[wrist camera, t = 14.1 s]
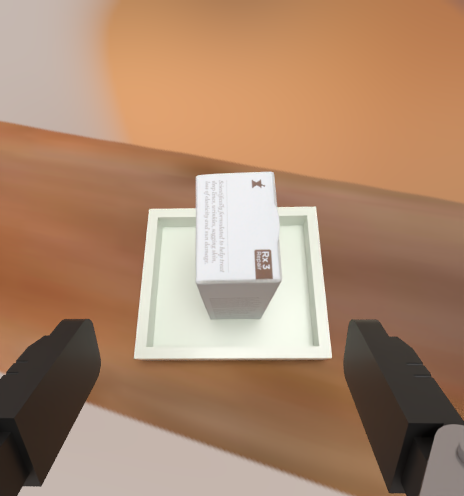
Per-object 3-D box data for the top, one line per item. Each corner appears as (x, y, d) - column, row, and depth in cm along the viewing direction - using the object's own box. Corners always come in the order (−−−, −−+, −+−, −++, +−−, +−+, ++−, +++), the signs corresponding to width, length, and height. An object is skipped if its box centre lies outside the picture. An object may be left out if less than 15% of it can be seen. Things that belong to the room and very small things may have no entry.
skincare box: (209, 251, 28) (188, 168, 17) (261, 249, 28) (274, 164, 17) (209, 324, 26) (185, 283, 15) (266, 322, 26) (285, 280, 15)
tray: (310, 220, 30) (315, 206, 28) (323, 359, 26) (331, 358, 23) (156, 222, 30) (149, 209, 28) (143, 360, 26) (133, 358, 24)
